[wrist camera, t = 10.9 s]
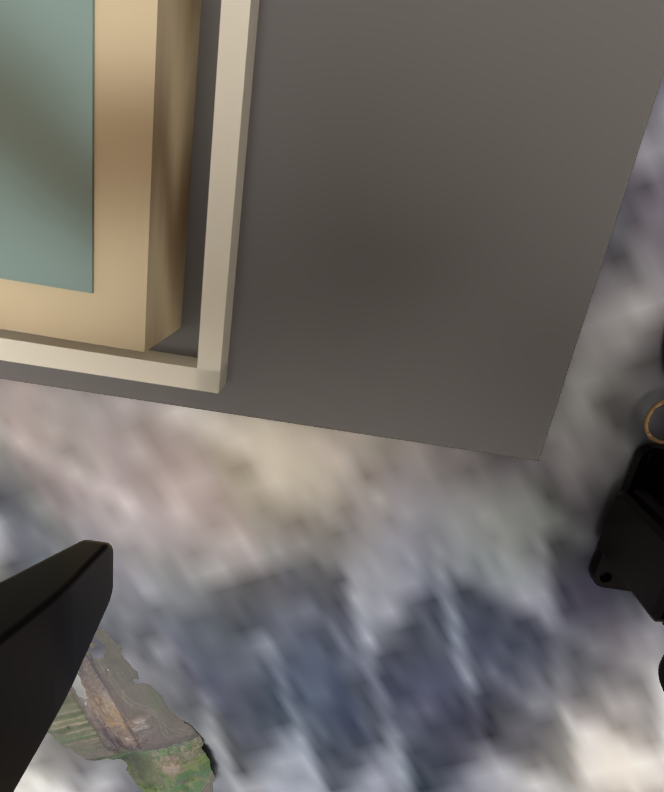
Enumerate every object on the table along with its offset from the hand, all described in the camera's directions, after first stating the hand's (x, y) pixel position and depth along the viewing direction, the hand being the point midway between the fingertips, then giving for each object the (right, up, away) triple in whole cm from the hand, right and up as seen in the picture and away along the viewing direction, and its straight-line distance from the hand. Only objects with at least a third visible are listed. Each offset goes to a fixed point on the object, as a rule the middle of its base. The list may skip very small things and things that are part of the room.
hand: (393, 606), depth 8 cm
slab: (-9, +11, +9) cm, 16 cm away
